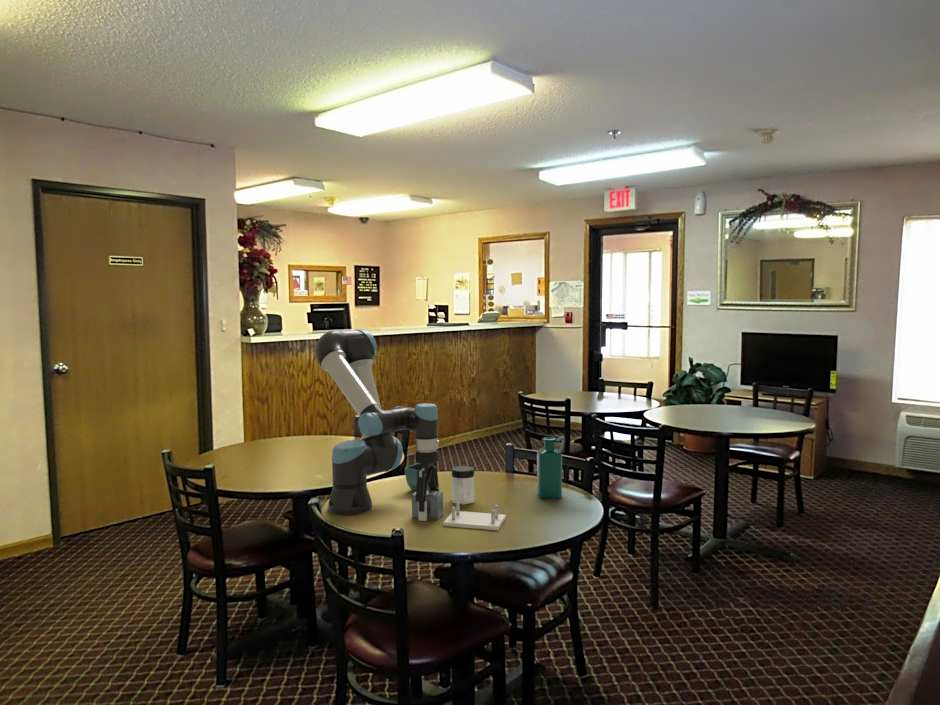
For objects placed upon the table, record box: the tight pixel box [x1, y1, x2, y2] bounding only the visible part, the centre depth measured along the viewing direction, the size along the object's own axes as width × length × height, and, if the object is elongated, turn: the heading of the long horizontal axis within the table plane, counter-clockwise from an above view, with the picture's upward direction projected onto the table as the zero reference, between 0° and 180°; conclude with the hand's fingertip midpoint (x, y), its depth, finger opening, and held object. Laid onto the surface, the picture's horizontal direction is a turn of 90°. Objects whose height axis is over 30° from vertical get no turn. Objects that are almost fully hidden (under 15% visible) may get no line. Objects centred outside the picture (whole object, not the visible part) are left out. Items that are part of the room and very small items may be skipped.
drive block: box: [411, 489, 444, 521], centre depth 217 cm, size 9×6×8 cm, turn 75°
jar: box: [451, 465, 475, 506], centre depth 233 cm, size 9×8×12 cm
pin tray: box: [442, 502, 507, 531], centre depth 211 cm, size 18×12×5 cm, turn 75°
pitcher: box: [536, 435, 566, 500], centre depth 239 cm, size 10×8×22 cm
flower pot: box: [404, 462, 429, 492], centre depth 248 cm, size 9×9×9 cm
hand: (427, 515), depth 217 cm, fingers open, 10 cm apart
